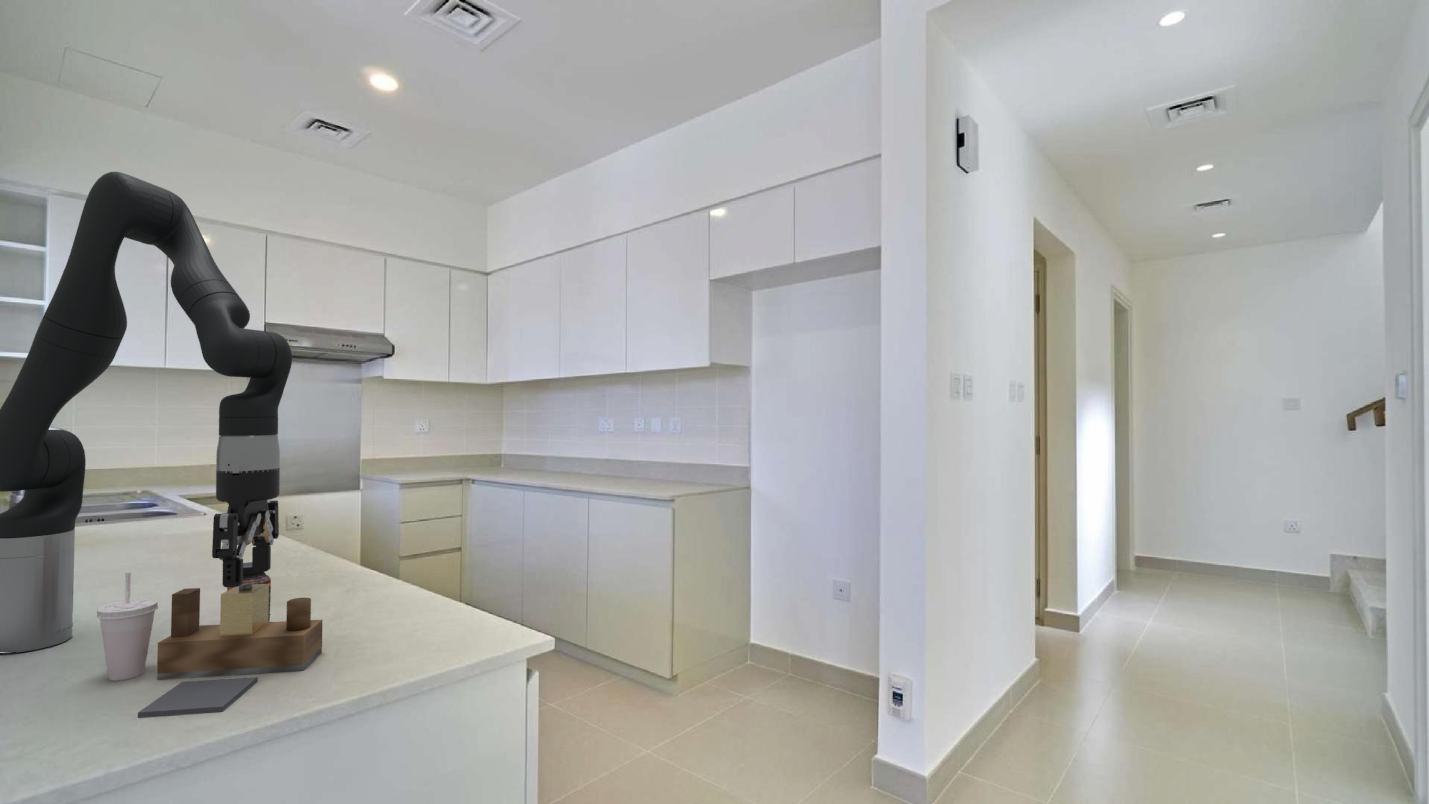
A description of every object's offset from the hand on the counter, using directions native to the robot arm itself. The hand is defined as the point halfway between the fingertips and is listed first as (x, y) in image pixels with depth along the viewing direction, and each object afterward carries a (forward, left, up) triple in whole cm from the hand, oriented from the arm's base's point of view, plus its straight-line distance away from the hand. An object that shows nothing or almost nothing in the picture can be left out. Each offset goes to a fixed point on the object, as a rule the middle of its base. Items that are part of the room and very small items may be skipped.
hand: (247, 578), depth 95 cm
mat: (0, -11, -13) cm, 17 cm away
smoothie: (-14, -1, -13) cm, 19 cm away
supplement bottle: (-6, +15, -13) cm, 21 cm away
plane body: (0, 0, -13) cm, 13 cm away
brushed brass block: (0, 0, -8) cm, 8 cm away
